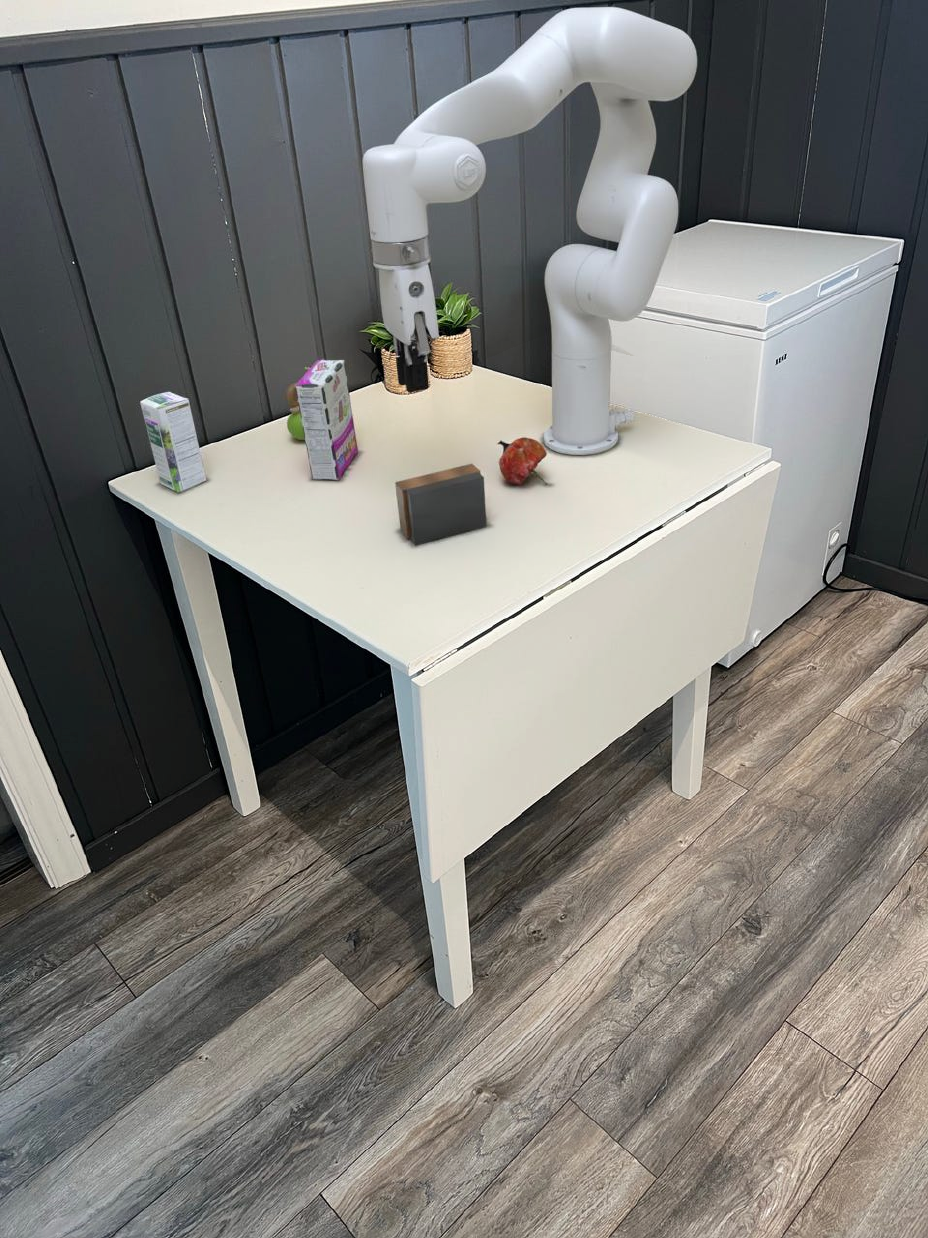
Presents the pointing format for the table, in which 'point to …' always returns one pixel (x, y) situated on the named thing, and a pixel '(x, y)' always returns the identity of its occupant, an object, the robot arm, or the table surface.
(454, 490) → the brush
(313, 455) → the candy bar box
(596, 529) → the table surface
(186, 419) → the syrup box
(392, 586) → the table surface
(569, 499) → the table surface
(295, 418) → the snail figurine
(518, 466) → the pomegranate
